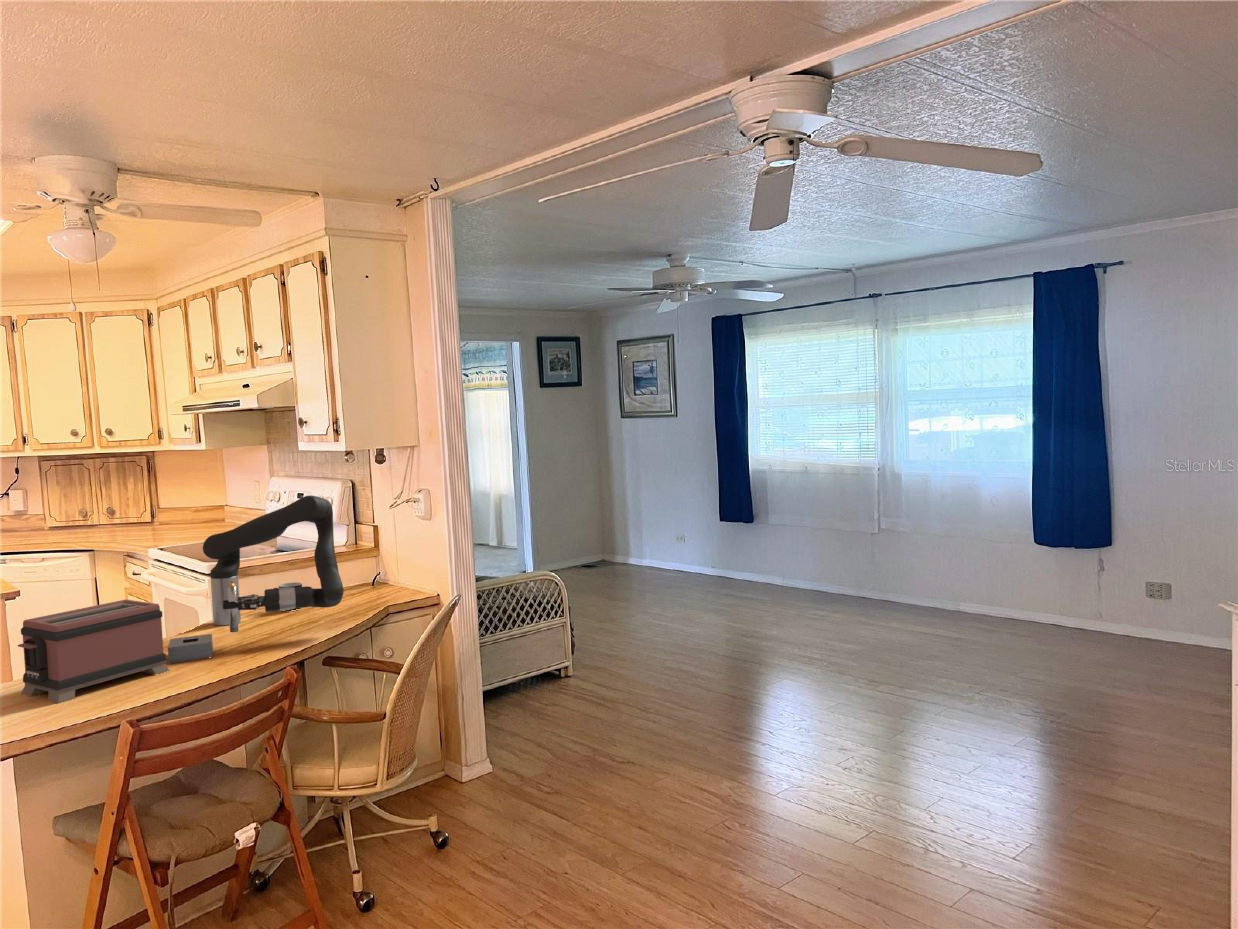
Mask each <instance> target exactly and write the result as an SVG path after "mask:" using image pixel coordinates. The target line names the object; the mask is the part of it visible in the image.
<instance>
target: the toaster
mask: <svg viewBox="0 0 1238 929" xmlns="http://www.w3.org/2000/svg"><path fill="white" fill-rule="evenodd" d="M162 617H163V611H162V610H161V608H160V604H159V603H154V602H147V601H141V600H132V599H121V600H117V601H110V602H107V603H101V604H97V605H92V606H88V607H83V608H77V609H73V610H68V611H63V612H62V611H61V612H57V613H53V614H47V615H42V616H38V617H33V618H29V619H24V620H23V621H22V628H20V635H22V643H19V644H17V647H19V648H23V659H24V660H23V662H24V672H25V673H23V676H22V682H23V683H24V686H23V688H22V690H21V692H20V695H24V696H28V697H34V696H37V695H41V694H45V693H47V692H48V695H47V702H49V703H53V704H58V705H59V704H62V702H63V703H65V702H69V701H72V699H73V700H75V699H76V698H75V697H76V690H79V689H81V688H82V689H83V688H85V687H86V688H87V687H89V686H94V685H97V684H100V683H103V682H107V681H111V680H115V679H117V678H121V677H125V676H129V675H133V674H135V673H139V672H143V671H144V673H146V672H147V673H146V674H148V673H151V674H150V675H153V674H159V675H162V674H165V673H164V672H166V673H168V672H167V671H169V672H170V669H169V667H168V666H167V664H166V662H167V655H166V653H165V652H164V640H163V625H162V624H163V622H162ZM161 673H162V674H161Z"/></svg>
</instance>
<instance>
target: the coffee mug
mask: <svg viewBox="0 0 1238 929" xmlns="http://www.w3.org/2000/svg"><path fill="white" fill-rule="evenodd" d="M287 587H290V588H295V587H303V582H298V581H297V582H286V583H281V584H278V588H287ZM275 588H276V587H274V588H272V589H275ZM296 609H300V610H301V608H295V609H290V610H285V611H291V610H296Z"/></svg>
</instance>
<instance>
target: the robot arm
mask: <svg viewBox="0 0 1238 929" xmlns="http://www.w3.org/2000/svg"><path fill="white" fill-rule="evenodd" d="M333 512H334V511H333V506H332V503H331V502H330V501H329V500H328V499H326V498H324V497H319V496H316V495H305V496H303V497H301V498H299V499H297V500H295V501H294V502H291V503H290V504H288V505H286V506H284V507H281V508H279V509H276V510H273V511H271V512H268V513H266V514H263V515H260V516H258V517H256V518H253V519H252V520H251V519H250V520H249V521H246V522H245V523H243V524H241V525H238V526H237V527H234V528H233V529H230V530H226V531H224V532H219V533H214V534H212V535H209V536H208V537H207V538H205V540H204V542H203V545H202V551H203V554H204V555H205V556H206V557H207V558H209V559H211V560H217V563H216V564H215V566H214V567H213V568H211V569H210V574H209V575H210V590H211V591H210V592H211V607H212V622H213V623H212V624H213V625H214V626H230V623H229V609H234V608H236V609H238V623H240V622H241V611H249V610H250V611H256V610H258V609H260V608H261V607H264V611H265V612H266V613H272V612H281V611H282V612H284V611H283V610H290V609H295V608H300V609H304V608H330V607H331V608H332V607H336V606H339V604H340V603H341V602H342V599H343V596H344V586H343V581H342V579H341V578H342V577H341V576H340V573H339V566H338V561H337V556H336V549H335V541H334V540H335V538H334V536H335V535H334V513H333ZM301 522H302V523H303V522H310V523H313V524H314V525H315V527H316V531H317V542H316V546H315V549H314V564H315V569H316V574H317V576H318V577H317V578H319V581H320V587H321V588H314V587H313V588H312V587H311V586H302V587H295V588H290V587H287V588H279V587H274V588H275V589H273V588H266V589H265V590H264V595H259V594H255V593H254V594H250V595H244V596H240V584H239V581H240V580H239V570H240V566H241V549H243V548H247V547H253V546H255V545H260V544H263V543H267V542H269V541H272V540H274V539H277V538H279V537H280V536H282V534H284V533H285V531H286V530H287V529H288V528H289V527H291V526H293V525H296V524H298V523H301ZM231 581H233V582H234V583H235V586H237V601H236V603H235V601H233V602H229V601H228V587H229V586H230V582H231Z"/></svg>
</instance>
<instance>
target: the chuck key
mask: <svg viewBox="0 0 1238 929" xmlns="http://www.w3.org/2000/svg"><path fill="white" fill-rule="evenodd" d="M228 601H229V602H233V601H235V603H236V601H237V586H235V583H234V582H233V581H231V582H230V586H229V587H228ZM229 623H230V625H229V633H238V632H239V630H240V629H239V622H238V609H236V608H234V609H229Z"/></svg>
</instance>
